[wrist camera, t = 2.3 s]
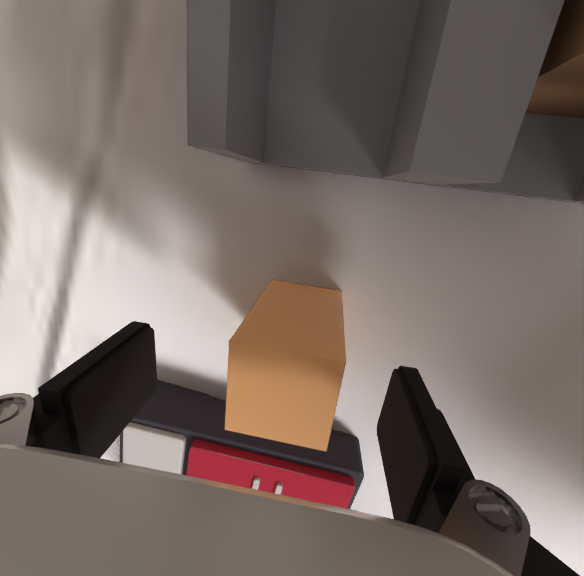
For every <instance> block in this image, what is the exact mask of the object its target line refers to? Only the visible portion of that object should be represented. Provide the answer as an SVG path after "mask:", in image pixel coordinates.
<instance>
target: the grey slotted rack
mask: <svg viewBox="0 0 584 576" xmlns="http://www.w3.org/2000/svg"><path fill="white" fill-rule="evenodd" d="M563 3H564V0H187V83H188V145H189V146H193V147H196V148H200V149H203V150H206V151H210V152H213V153H217V154H220V155H224V156H227V157H230V158H234V159H237V160H240V161H244V162H251V163H259V164H267V165H275V166H283V167H292V168H300V169H308V170H316V171H324V172H332V173H340V174H348V175H357V176H365V177H373V178H381V179H389V180H397V181H405V182H413V183H422V184H430V185H438V186H446V187H454V188H462V189H470V190H478V191H487V192H495V193H503V194H511V195H519V196H527V197H535V198H543V199H552V200H560V201H568V202H576V203H584V119H583V118H573V117H563V116H552V115H542V114H532V113H525V112H526V109H527V107H528V104H529V101H530V98H531V95H532V92H533V89H534V86H535V84H536V81H537V78H538V75H539V72H540V69H541V66H542V63H543V61H544V58H545V55H546V52H547V49H548V46H549V43H550V41H551V38H552V35H553V32H554V29H555V26H556V23H557V20H558V18H559V15H560V12H561V9H562V6H563Z"/></svg>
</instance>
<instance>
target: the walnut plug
mask: <svg viewBox="0 0 584 576" xmlns="http://www.w3.org/2000/svg"><path fill="white" fill-rule="evenodd" d="M525 113H532V114H542V115H552V116H563V117H573V118H583V119H584V0H564V3H563V6H562V9H561V12H560V15H559V18H558V20H557V23H556V26H555V29H554V32H553V35H552V38H551V41H550V43H549V46H548V49H547V52H546V55H545V58H544V61H543V63H542V66H541V69H540V72H539V75H538V78H537V81H536V84H535V86H534V89H533V92H532V95H531V98H530V101H529V104H528V107H527V109H526V112H525Z"/></svg>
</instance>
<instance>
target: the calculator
mask: <svg viewBox="0 0 584 576" xmlns="http://www.w3.org/2000/svg"><path fill="white" fill-rule="evenodd" d="M225 414H226V402H225V401H221V400H217V399H213V398H211V397H210V396H209V395H208V394H205V393H202V392H198V391H195V390H191V389H188V388H184V387H181V386H177V385H173V384H170V383H166V382H163V381H159V380H157V387H156V390H155V392H154V394H153V395H152V396H151V397H150V398H149V400H148V401H147V402H146V403H145V404H144V406H143V407H142V408H141V409H140V410H139V412H138V413H137V414H136V415H135V416H134V418H133V419H132V420H131V421H130V423H129V424H128V425H127V426H126V427H125V429H124V430H123V431H122V432H121V433H120V462H121V463H126V464H131V465H136V466H141V467H146V468H151V469H156V470H162V471H167V472H172V473H177V474H181V475H186V476H191V477H196V478H201V479H206V480H211V481H216V482H221V483H226V484H231V485H236V486H241V487H246V488H251V489H256V490H260V491H265V492H270V493H275V494H280V495H284V496H289V497H294V498H299V499H303V500H308V501H313V502H318V503H323V504H327V505H332V506H337V507H342V508H346V509H350V507H351V505H352V503H353V501H354V498H355V496H356V494H357V492H358V489H359V487H360V485H361V483H362V480H363V478H364V472H363V465H362V459H361V452H360V445H359V440H358V438H357V437H355V436H352V435H349V434H346V433H342V432H339V431H335V430H332V429H331V433H330V438H329V442H328V447H327V451H321V450H317V449H312V448H307V447H303V446H298V445H293V444H289V443H284V442H279V441H275V440H270V439H265V438H261V437H256V436H251V435H247V434H242V433H238V432H233V431H228V430H225Z"/></svg>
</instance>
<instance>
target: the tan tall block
mask: <svg viewBox="0 0 584 576" xmlns="http://www.w3.org/2000/svg"><path fill="white" fill-rule="evenodd" d="M345 365H346V355H345V338H344V322H343V305H342V291H339V290H332V289H326V288H320V287H314V286H308V285H301V284H295V283H289V282H283V281H277V280H271V281H270V283H269V284H268V286H267V287H266V289H265V290H264V291H263V293H262V294H261V296H260V297H259V299H258V300H257V302H256V303H255V304H254V306H253V307H252V309H251V310H250V312H249V313H248V315H247V316H246V317H245V319H244V320H243V322H242V323H241V325H240V326H239V328H238V329H237V331H236V332H235V333H234V335H233V336H232V338H231V339H230V341H229V356H228V375H227V395H226V414H225V430H228V431H233V432H238V433H242V434H247V435H251V436H256V437H261V438H265V439H270V440H275V441H279V442H284V443H289V444H293V445H298V446H303V447H307V448H312V449H317V450H321V451H327V447H328V442H329V438H330V433H331V428H332V424H333V419H334V415H335V410H336V406H337V401H338V396H339V392H340V387H341V383H342V378H343V374H344V369H345Z"/></svg>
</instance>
